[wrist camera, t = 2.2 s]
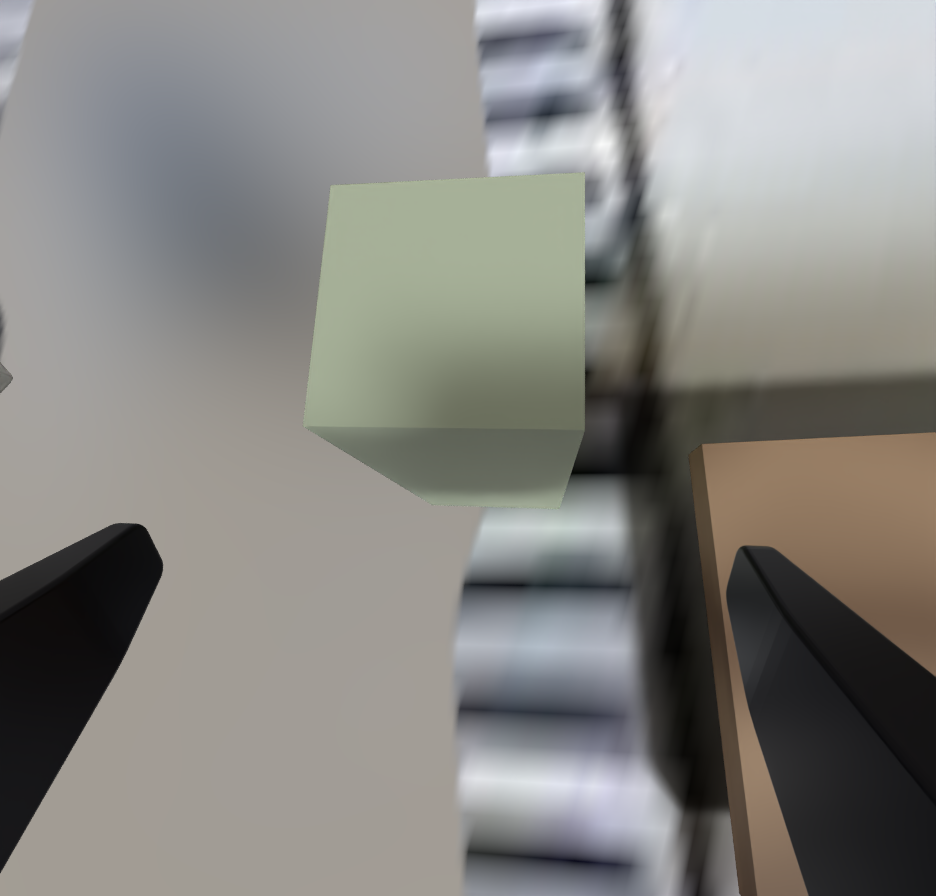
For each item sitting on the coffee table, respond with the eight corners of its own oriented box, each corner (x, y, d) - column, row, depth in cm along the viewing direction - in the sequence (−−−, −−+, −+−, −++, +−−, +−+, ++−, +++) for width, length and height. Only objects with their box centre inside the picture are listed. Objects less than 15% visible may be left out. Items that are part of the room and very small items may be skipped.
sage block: (559, 508, 19) (584, 429, 8) (432, 505, 19) (302, 425, 9) (560, 386, 20) (584, 172, 9) (439, 385, 20) (330, 184, 10)
